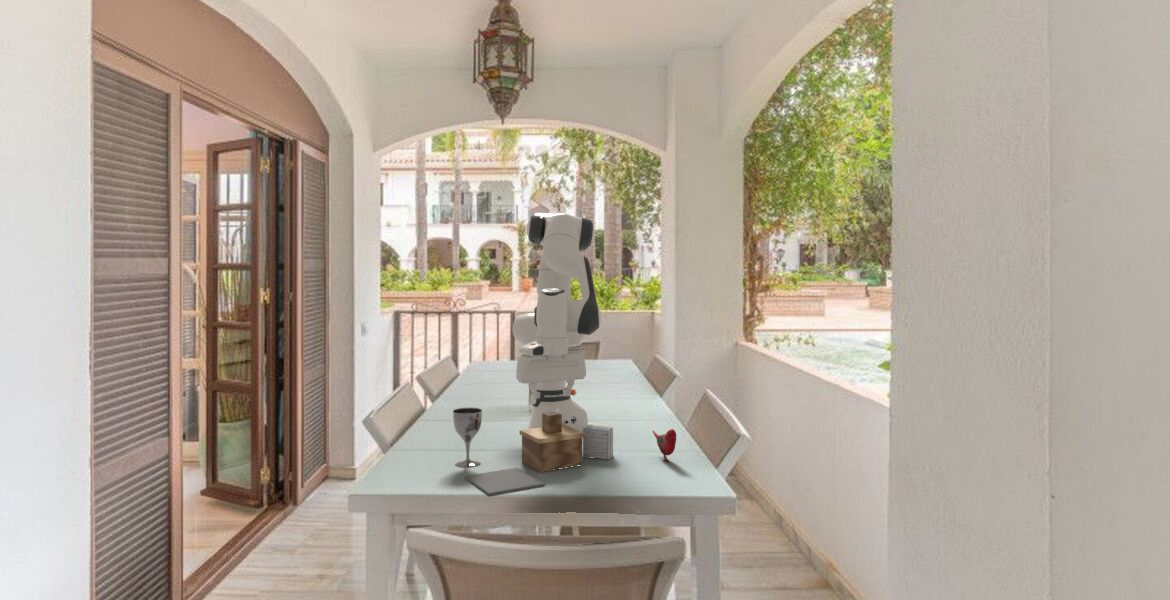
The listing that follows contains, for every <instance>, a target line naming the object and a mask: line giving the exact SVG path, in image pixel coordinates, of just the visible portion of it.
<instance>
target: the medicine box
mask: <svg viewBox="0 0 1170 600" xmlns="http://www.w3.org/2000/svg"><path fill="white" fill-rule="evenodd" d="M593 425H594V424H593ZM593 425H588V426H586V427H584V428H583V432H584V433H585V437H583V438H582V458H584V457H593V458H592V459H596V458H601V459H600V460H607V459H609V460H610V459H611V458H612V457H613V456H614V427H613V426H605V425H594V426H593Z"/></svg>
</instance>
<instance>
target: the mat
mask: <svg viewBox="0 0 1170 600" xmlns="http://www.w3.org/2000/svg"><path fill="white" fill-rule="evenodd" d="M464 479H466V480H467V481H468V482H470V483H471V484H472V485H474V486H475V487H476V488H477V489H479V490H481V491H482V492H484V493H485V494H486V495H488V496H493V495H499V494H506V493H511V492H517V491H523V490H528V488H529V489H534V488H533V487H535V488H539V487H538V486H540V487H544V485H545V482H543V481H541V480H539V479H538V478H536V477H534V476H532V475H531V474H529V473H528V472H526V471H524V470H522V469H520V468H519V467H512V468H505V469H501V470H500V469H499V470H494V471H486V472H481V473H475V474H467V475H464ZM545 486H546V485H545Z"/></svg>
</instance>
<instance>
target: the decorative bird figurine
mask: <svg viewBox="0 0 1170 600" xmlns="http://www.w3.org/2000/svg"><path fill="white" fill-rule="evenodd" d="M652 433H653V435H654V437H655V439H656V444H657V447H658V449H659V451H660V453H661V454H662V455H663V457H662V458H663V459H664V461H666V462H667V461H668V463H670V462H671V461H670V460H669V459H668V457H667V456H671V455H672V454H673V453H674V451H675V449H676V444H677V443H676V442H677V432H676V431H675V429H674V428H672V429H669V430H667V431H666V432H665V433H664V434H660V435H659V434H657V432H656V431H655V430H652Z"/></svg>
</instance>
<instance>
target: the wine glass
mask: <svg viewBox="0 0 1170 600" xmlns="http://www.w3.org/2000/svg"><path fill="white" fill-rule="evenodd" d="M452 421H453V426H454V431H455V432H456V433H457V435H458V436H459V438H461V439H462V441H463V442H464V445H465V451H466V452H465V454H466V457H465V460H460V461H457V462H455V463H454V466H455V467H458V468H463V469H464V468H476V467H478V466H480V465H481V464H482V463H481V461H478V460H474V459H473V460H471V459H470V448H471V443H472V441H473V439H474V438H475V437H476V435H477V434H478V433H479V432H480V430H481V425H482V421H483V410H482V408H479V407H460V408H455V409H453V410H452Z"/></svg>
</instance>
